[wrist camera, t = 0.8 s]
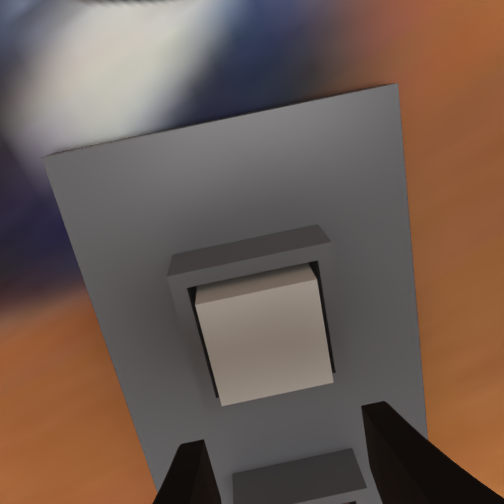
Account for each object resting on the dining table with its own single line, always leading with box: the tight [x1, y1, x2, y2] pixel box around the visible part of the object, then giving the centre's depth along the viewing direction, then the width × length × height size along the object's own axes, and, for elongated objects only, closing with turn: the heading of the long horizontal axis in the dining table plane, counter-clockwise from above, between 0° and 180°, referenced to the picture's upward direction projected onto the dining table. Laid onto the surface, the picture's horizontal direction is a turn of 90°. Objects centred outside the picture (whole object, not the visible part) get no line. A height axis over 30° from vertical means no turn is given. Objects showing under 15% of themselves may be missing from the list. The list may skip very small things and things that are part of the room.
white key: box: [195, 262, 334, 406], centre depth 18 cm, size 4×4×2 cm
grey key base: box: [41, 83, 428, 504], centre depth 22 cm, size 14×28×4 cm, turn 11°
